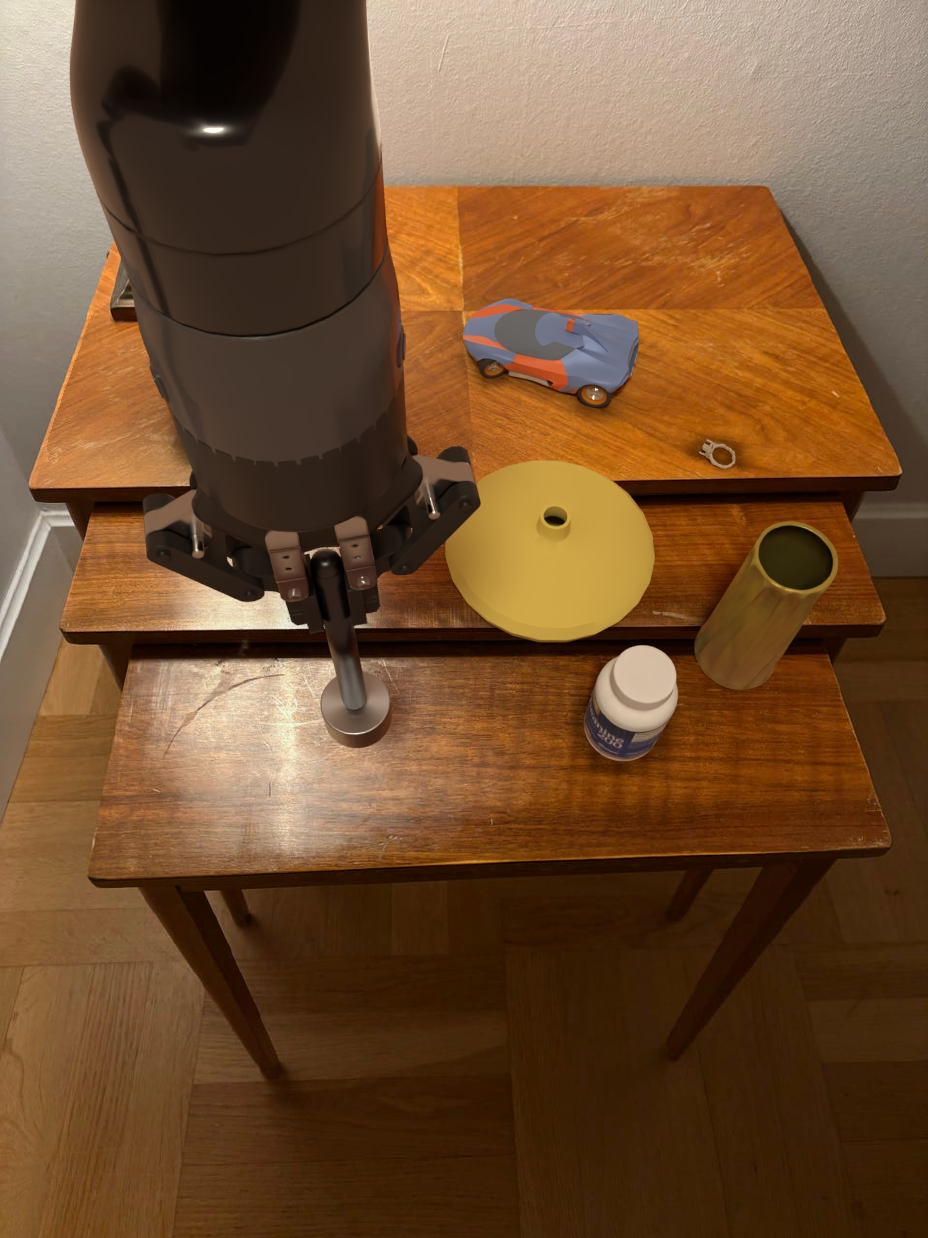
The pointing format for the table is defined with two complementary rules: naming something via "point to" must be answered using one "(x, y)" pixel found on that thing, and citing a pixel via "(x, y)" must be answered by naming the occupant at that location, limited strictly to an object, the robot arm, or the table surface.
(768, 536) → the vase
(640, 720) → the pill bottle
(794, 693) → the table surface
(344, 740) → the rod with round foot
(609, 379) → the toy car
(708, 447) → the ring
